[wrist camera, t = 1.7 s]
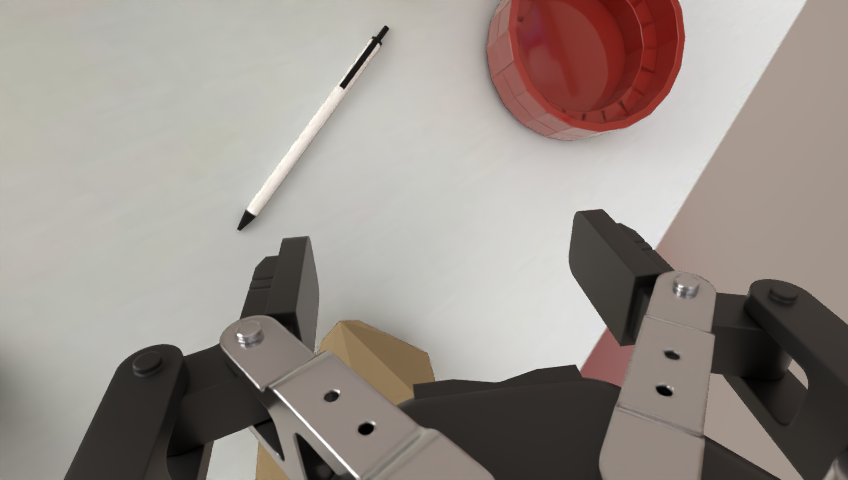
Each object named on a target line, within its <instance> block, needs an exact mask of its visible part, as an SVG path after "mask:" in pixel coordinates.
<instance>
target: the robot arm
mask: <svg viewBox="0 0 848 480" xmlns="http://www.w3.org/2000/svg"><path fill="white" fill-rule="evenodd" d="M569 266H570V270H571V272H572V275H573V276H574V278H575V279H576V281H577V282H578V284H579V285H580V287H581V288H582V290H583V291H584V293H585V294H586V296H587V297H588V299H589V300H590V302H591V303H592V305H593V306H594V307H595V309H596V310H597V312H598V313H599V315H600V316H601V318H602V319H603V321H604V322H605V324H606V325H607V327H608V328H609V330H610V331H611V333H612V334H613V336H614V337H615V339H616V340H617V342H618V343H619V344H620V346H627V345H635V347H634V350H633V353H632V356H631V360H630V362H629V366H628V369H627V372H626V375H625V379H624V382H623V385H622V388H621V387H619V386H617V385H614V384H611V383H609V382H606V381H602V380H598V379H594V378H587V377H582V376H581V374H580V372H579V370H578V368H577V366H576V365H568V366H560V367H551V368H543V369H536V370H533V371H530V372H527V373H524V374H522V375H519V376H516V377H513V378H510V379H507V380H505V381H502V382H481V381H469V380H456V379H452V380H444V381H436V382H427V383H419V384H413V395H414V397H413V398H410V399H407V400H405V401H403V402H401V403H399V404H397V405H395V404H393V403H392V402H391V401H390V400H389V399H387V398H386V397H385V396H384V395H383V394H382V393H380V392H379V391H378V390H377V389H376V388H374V387H373V386H372V385H371V384H370V383H368V382H367V381H366V380H365V379H364V378H362V377H361V376H360V375H359V374H358V373H356V372H355V371H354V370H353V369H352V368H350V367H349V366H348V365H347V364H346V363H344V362H343V361H342V360H341V359H340V358H339V357H337V356H336V355H335V354H334V353H332V352H331V351H328V350H325V351H323V352H321V353H320V354H318V355H316V354H314V347H315V337H316V327H317V316H318V306H319V286H318V279H317V273H316V268H315V262H314V257H313V251H312V246H311V241H310V238H309V236H304V237H293V238H283V240H282V243H281V248H280V252H279V256H269V257H265V258H264V259H263V260H262V261H261V262H260V263H259V264H258V266H257V267H256V268H255V271H254V274H253V277H252V281H251V284H250V287H249V290H248V294H247V297H246V300H245V303H244V307H243V310H242V313H241V317H240V320H238V321H236V322H234V323H233V324H231V325H230V326H228V327H227V328H226V329H225V330H224V332H223V333H222V335H221V337H220V343H219V344H217V345H215V346H213V347H211V348H208V349H205V350H202V351H199V352H196V353H193V354H190V355H187V356H184V357H183V354H182V352H181V350H180V349H179V348H178V347H176V346H173V345H168V344H161V345H154V346H150V347H147V348H144V349H142V350H139V351H137V352H135V353H134V354H132V355H131V356H129V357H128V358H127V359H125V360H124V361H123V362H122V363H121V364H120V365H119V367H118V368H117V370H116V372H115V374H114V376H113V378H112V380H111V382H110V384H109V386H108V388H107V390H106V393H105V395H104V397H103V399H102V401H101V403H100V405H99V407H98V409H97V411H96V413H95V415H94V418H93V420H92V422H91V424H90V426H89V428H88V430H87V432H86V434H85V436H84V438H83V440H82V443H81V445H80V447H79V449H78V451H77V453H76V455H75V457H74V459H73V461H72V463H71V465H70V468H69V470H68V472H67V474H66V476H65V478H64V480H206V476H207V471H208V466H209V462H210V457H211V452H212V448H213V443H214V440H217V439H219V438H222V437H224V436H227V435H229V434H232V433H235V432H237V431H240V430H242V429H245V428H247V427H248V428H249V430H250V431H251V432H252V433H253V435H254V436H255V437H256V438H257V439H258V441H259V442H260V443H261V444H262V446H263V447H264V448H265V449H266V451H267V452H268V453H269V454H270V455H271V457H272V458H273V459H274V460H275V462H276V463H277V464H278V465H279V467H280V468H281V469H282V470H283V471H284V473H285V474H286V476H287V477H288V479H289V480H781V479H779V478H777V477H775V476H774V475H772V474H770V473H769V472H767V471H765V470H764V469H762V468H760V467H758V466H757V465H755V464H753V463H751V462H750V461H748V460H746V459H745V458H743V457H741V456H739V455H738V454H736V453H734V452H733V451H731V450H729V449H727V448H725V447H724V446H722V445H721V444H719V443H717V442H715V441H714V440H712V439H710V438H708V437H707V436H705V435H703V431H704V422H705V414H706V406H707V398H708V390H709V381H710V373H715V374H722V375H723V376H724V378H725V379H726V380H727V382H728V383H729V384H730V385H731V387H732V388H733V389H734V391H735V392H736V393H737V394H738V396H739V397H740V398H741V400H742V401H743V402H744V404H745V405H746V406H747V407H748V409H749V410H750V411H751V412H752V414H753V415H754V416H755V418H756V419H757V420H758V421H759V423H760V424H761V425H762V427H763V428H764V429H765V430H766V432H767V433H768V434H769V436H770V437H771V438H772V439H773V441H774V442H775V443H776V445H777V446H778V447H779V448H780V450H781V451H782V452H783V454H784V455H785V456H786V457H787V459H788V460H789V461H790V462H791V464H792V465H793V466H794V468H795V469H796V470H797V472H798V473H799V474H800V475H801V476H802V478H803V479H804V480H848V325H847V324H846V323H845V322H844V321H843V320H841V319H840V318H839V317H838V316H836V315H835V314H834V313H833V312H831V311H830V310H829V309H828V308H827V307H826V306H824V305H823V304H822V303H821V302H819V301H818V300H817V299H816V298H815V297H813V296H812V295H811V294H810V293H808V292H807V291H805V290H804V289H802V288H800V287H798V286H796V285H793V284H791V283H787V282H784V281H779V280H772V279H764V280H758V281H755V282H753V283H752V284H751V286H750V289H749V291H748V294H747V295H736V294H725V293H717V292H716V290H715V288H714V286H713V285H712V284H711V283H710V282H709V281H707V280H706V279H704V278H702V277H700V276H697V275H695V274H691V273H688V272H682V271H675V270H674V269H673V268H672V267H671V266H670V265H669V264H668V263H667V262H666V261H665V260H664V259H662V257H661V256H660V255H659V254H658V253H657V252H656V251H655V250H652V247H651V246H650V245H649V244H648V243H647V242H645V240H644V239H643V238H642V237H641V236H640V235H639V234H638V233H637V232H636V231H635V230H633V229H631V228H629V227H627V226H625V225H623V224H621V223H617V224H616V222H615V221H614V220H613V219H612V218H611V217H610V216H609V215H608V214H607V213H606V212H605V211H604V210H602V209H597V210H587V211H578V212H576V214H575V216H574V220H573V227H572V235H571V242H570V250H569ZM792 359H794V360H795V361H796V362H797V364H799V366H800V367H801V368H802V369H803V370H804V372H805V373H806V376H807V379H808V390H807V389H806V387H805V386H804V385H803V384H802V383H801V382H800V381H799V380H798V379H797V378H796V377H795V376H794V375H793V374H792V373H791V372H790V371H789V370H788V367H789V365H790V363H791V361H792Z"/></svg>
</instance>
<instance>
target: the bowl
mask: <svg viewBox="0 0 848 480" xmlns="http://www.w3.org/2000/svg"><path fill="white" fill-rule="evenodd" d="M684 42H685V32H684V24H683V16H682V8H681V6H680V3H679V1H678V0H501V1H500V3H499V5H498V7H497V9H496V12H495V14H494V16H493V18H492V20H491V23H490V29H489V36H488V44H487V56H488V62H489V68H490V74H491V79H492V81H493V83H494V85H495V87H496V89H497V91H498V93H499V95H500V97H501V100H502V102H503V103H504V105H505V106H506V107H507V108H508V109H509V110H510V112H511V113H512V114H513V115H514V116H515V117H516V118H517V119H518V120H519V121H520V122H521V123H522V124H523V125H525V126H527V127H529V128H531V129H532V130H534V131H536V132H538V133H540V134H541V135H543V136H545V137H550V138H556V139H562V140H568V141H572V140H577V139H583V138H589V137H594V136H598V135H602V134H605V133H609V132H613V131H616V130H620V129H624V128H627V127H629V126H631V125H632V124H634V123H636V122H638V121H639V120H641V119H643V118H645V117H647V116H648V115H650V114H651V113H652V112H653V111H654V110H655V109H656V107H657V106H658V105H659V104H660V103H661V102H662V101H663V100H664V98H665V97H666V96H667V95H668V94H669V92H670V90H671V88H672V86H673V84H674V81H675V79H676V77H677V75H678V73H679V70H680V68H681V63H682V56H683V49H684Z"/></svg>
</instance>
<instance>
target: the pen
mask: <svg viewBox="0 0 848 480" xmlns="http://www.w3.org/2000/svg"><path fill="white" fill-rule="evenodd" d="M388 30H389V28H388V27H387V26H384V28H383V29H382V30H381V32H380V33H379V34H378V36H377V37H376V36H375V37H374V36H373V37H372V38H371V39H370V41H369V42H368V44H367V45H366V46H365V48H364V49H363V50H362V52H361V53H360V54H359V56H358V57H357V59H356V60H355V61H354V63H353V64H352V65H351V67H350V68H349V69H348V71H347V72H346V74H345V75H344V76H343V78H342V79H341V80H340V82H339V83H338V84H337V86H336V87H335V89H334V90H333V91H332V93H331V94H330V95H329V97H328V98H327V99H326V101H325V102H324V104H323V105H322V106H321V108H320V109H319V110H318V112H317V113H316V114H315V116H314V117H313V119H312V120H311V121H310V123H309V124H308V125H307V127H306V128H305V129H304V131H303V132H302V134H301V135H300V136H299V138H298V139H297V140H296V142H295V143H294V144H293V146H292V147H291V149H290V150H289V151H288V153H287V154H286V155H285V157H284V158H283V159H282V161H281V162H280V164H279V165H278V166H277V168H276V169H275V170H274V172H273V173H272V174H271V176H270V177H269V179H268V180H267V181H266V183H265V184H264V185H263V187H262V188H261V189H260V191H259V192H258V194H257V195H256V196H255V198H254V199H253V200H252V202H251V203H250V205H249V206H248V207H247V209H246V210H245V213H244V215H243V217H242V219H241V222H240V224H239V226H238V228H237V229H238V230H237V232H239V231H241V230H242V229H243V228H244V227H245V226H246V225H247V224H248V223H250V222H251V221H252V220H253V219H254V218H255V217H256V216H257V215H258V213H259V212H260V211H261V209H262V208H263V207H264V205H265V204H266V203H267V201H268V200H269V198H270V197H271V196H272V194H273V193H274V192H275V190H276V189H277V187H278V186H279V185H280V183H281V182H282V181H283V179H284V178H285V177H286V175H287V174H288V172H289V171H290V170H291V168H292V167H293V166H294V164H295V163H296V161H297V160H298V159H299V157H300V156H301V155H302V153H303V152H304V151H305V149H306V148H307V146H308V145H309V144H310V142H311V141H312V140H313V138H314V137H315V135H316V134H317V133H318V131H319V130H320V129H321V127H322V126H323V124H324V123H325V122H326V120H327V119H328V118H329V116H330V115H331V114H332V112H333V111H334V109H335V108H336V107H337V105H338V104H339V103H340V101H341V100H342V98H343V97H344V96H345V94H346V93H347V92H348V90H349V89H350V88H351V86H352V85H353V83H354V82H355V81H356V79H357V78H358V77H359V75H360V74H361V72H362V71H363V70H364V68H365V67H366V66H367V64H368V63H369V62H370V60H371V59H372V57H373V56H374V55H375V53H376V52H377V51H378V49H379V48H380V46H381V45H382V43H381V39H382V38H383V37H384V35H385V34H386V32H387V31H388Z"/></svg>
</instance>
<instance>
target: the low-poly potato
mask: <svg viewBox="0 0 848 480" xmlns="http://www.w3.org/2000/svg"><path fill="white" fill-rule="evenodd" d="M325 350H328V351H331V352H332V353H334V354H335V355H336V356H337V357H339V358H340V359H341V360H342V361H343V362H344V363H346V364H347V365H348V366H349V367H350V368H352V369H353V370H354V371H355V372H356V373H358V374H359V375H360V376H361V377H362V378H364V379H365V380H366V381H367V382H368V383H370V384H371V385H372V386H373V387H374V388H376V389H377V390H378V391H379V392H380V393H382V394H383V395H384V396H385V397H386V398H387V399H389V400H390V401H391V402H392V403H393V404H395V405H397V404H399V403H401V402H403V401H405V400H407V399H410V398H413V397H414V395H413V384H419V383H427V382H435V379H434V375H433V371H432V368H431V364H430V360H429V357H428V353H426V352H424V351H422V350H420V349H417V348H415V347H413V346H411V345H409V344H407V343H405V342H403V341H401V340H399V339H397V338H394V337H392V336H390V335H388V334H386V333H384V332H382V331H380V330H378V329H376V328H374V327H371V326H369V325H367V324H365V323H363V322H361V321H359V320H356V321H339V322H338V323H337V324H336V326H335V327H334V328H333V329H332V330H331V331H330V332H329V334H328V335H327V336H326V337H325V338H324V339H323V340H322V343H321V346H320V349H319V352H318V354H320V353H321V352H323V351H325ZM318 354H317V355H318ZM255 480H289V479H288V477H287V476H286V474H285V473H284V471H283V470H282V469H281V468H280V467H279V465H278V464H277V463H276V462H275V460H274V459H273V458H272V457H271V455H270V454H269V453H268V452H267V451H266V449H265V448H264V447H263V446H262V444H261V443H260V442H259V443H258V455H257V467H256V479H255Z"/></svg>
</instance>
